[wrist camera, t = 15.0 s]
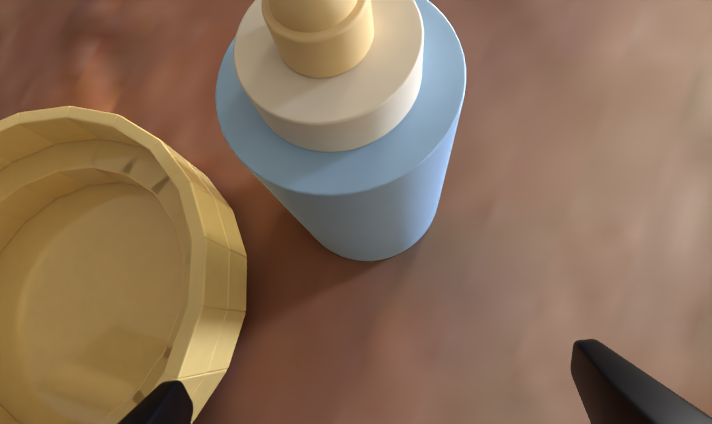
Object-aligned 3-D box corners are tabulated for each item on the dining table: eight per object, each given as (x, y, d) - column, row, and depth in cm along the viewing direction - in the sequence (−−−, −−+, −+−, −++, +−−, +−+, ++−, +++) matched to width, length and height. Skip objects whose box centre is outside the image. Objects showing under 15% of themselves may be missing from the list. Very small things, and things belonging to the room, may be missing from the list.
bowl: (182, 536, 16) (97, 612, 11) (-107, 420, 18) (-262, 447, 14) (292, 182, 19) (260, 139, 15) (40, 131, 22) (-47, 83, 18)
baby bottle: (381, 291, 17) (326, 202, 6) (272, 206, 19) (57, 3, 7) (467, 177, 18) (576, -103, 7) (356, 107, 20) (287, -212, 8)
